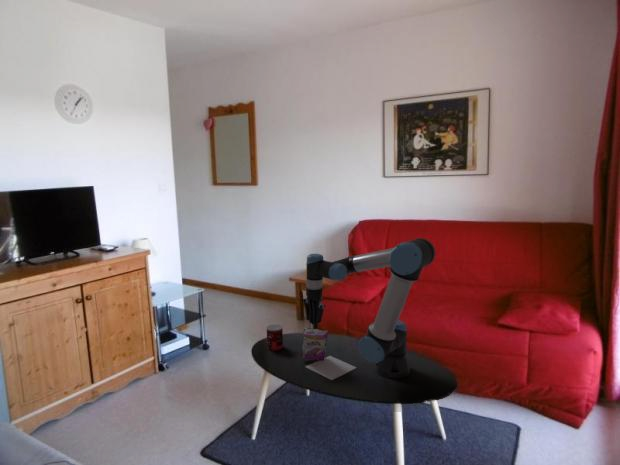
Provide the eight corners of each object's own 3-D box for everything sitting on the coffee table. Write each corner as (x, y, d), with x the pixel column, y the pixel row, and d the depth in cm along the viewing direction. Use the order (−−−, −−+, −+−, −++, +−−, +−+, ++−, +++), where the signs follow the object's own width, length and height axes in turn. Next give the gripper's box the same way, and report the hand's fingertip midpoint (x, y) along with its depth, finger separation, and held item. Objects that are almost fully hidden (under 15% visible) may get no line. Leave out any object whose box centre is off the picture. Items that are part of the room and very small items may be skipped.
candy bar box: (300, 358, 206) (302, 335, 196) (302, 349, 210) (303, 326, 200) (324, 361, 205) (326, 338, 195) (325, 353, 209) (328, 329, 199)
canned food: (267, 345, 225) (266, 324, 223) (282, 344, 226) (282, 324, 224) (267, 351, 217) (266, 330, 216) (283, 350, 218) (282, 329, 217)
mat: (356, 368, 198) (356, 367, 198) (331, 380, 188) (331, 379, 188) (330, 356, 211) (330, 355, 211) (305, 367, 200) (305, 366, 200)
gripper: (330, 289, 199) (328, 338, 203) (310, 282, 208) (310, 329, 212) (318, 292, 194) (317, 342, 198) (299, 285, 203) (298, 333, 207)
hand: (313, 335), depth 205 cm, fingers closed
